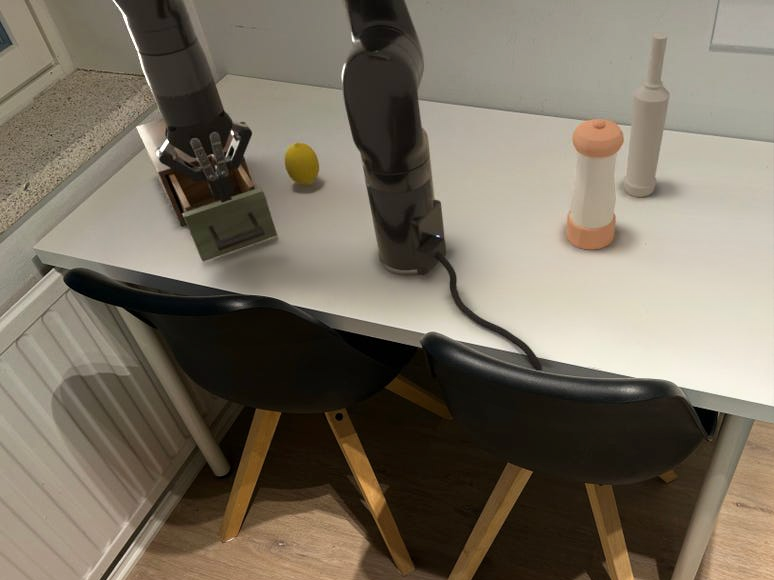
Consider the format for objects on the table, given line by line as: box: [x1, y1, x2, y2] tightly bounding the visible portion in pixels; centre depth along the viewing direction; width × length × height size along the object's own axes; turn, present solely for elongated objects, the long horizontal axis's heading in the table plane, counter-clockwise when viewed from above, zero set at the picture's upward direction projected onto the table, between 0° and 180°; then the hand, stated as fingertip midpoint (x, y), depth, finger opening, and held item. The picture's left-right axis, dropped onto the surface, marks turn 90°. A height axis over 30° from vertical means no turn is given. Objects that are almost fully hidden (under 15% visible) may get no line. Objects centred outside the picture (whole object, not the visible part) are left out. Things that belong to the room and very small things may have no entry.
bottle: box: [623, 32, 671, 198], centre depth 109 cm, size 5×5×25 cm
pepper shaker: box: [566, 118, 625, 251], centre depth 104 cm, size 7×7×19 cm
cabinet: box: [136, 118, 253, 227], centre depth 120 cm, size 17×13×10 cm
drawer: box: [168, 156, 278, 263], centre depth 111 cm, size 21×12×8 cm, turn 30°
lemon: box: [284, 141, 320, 186], centre depth 121 cm, size 6×6×8 cm
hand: (225, 198), depth 101 cm, fingers closed
